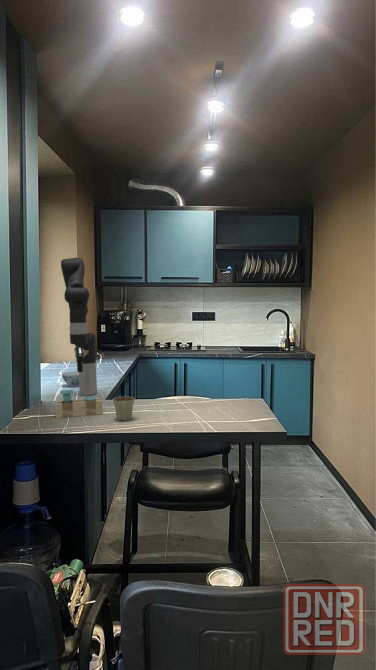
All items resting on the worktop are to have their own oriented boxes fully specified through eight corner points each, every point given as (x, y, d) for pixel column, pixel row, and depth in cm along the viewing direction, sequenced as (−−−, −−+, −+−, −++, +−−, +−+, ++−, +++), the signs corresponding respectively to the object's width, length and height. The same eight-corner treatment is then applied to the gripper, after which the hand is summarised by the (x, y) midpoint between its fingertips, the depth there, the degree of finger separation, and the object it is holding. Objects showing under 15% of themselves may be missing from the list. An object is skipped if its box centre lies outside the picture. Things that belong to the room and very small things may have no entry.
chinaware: (91, 383, 277) (90, 371, 276) (83, 388, 262) (82, 375, 261) (67, 383, 278) (67, 371, 278) (58, 388, 263) (57, 375, 263)
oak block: (56, 414, 202) (55, 401, 201) (101, 410, 207) (100, 397, 207) (56, 418, 195) (55, 404, 195) (102, 413, 201) (102, 400, 200)
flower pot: (140, 417, 193) (139, 398, 192) (125, 423, 185) (124, 402, 184) (123, 415, 198) (123, 395, 197) (108, 420, 190) (107, 399, 190)
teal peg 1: (61, 405, 201) (60, 390, 201) (73, 404, 203) (72, 389, 202) (61, 407, 196) (60, 392, 196) (73, 406, 198) (72, 391, 197)
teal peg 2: (84, 411, 204) (83, 397, 204) (96, 410, 206) (95, 396, 205) (85, 414, 199) (84, 399, 199) (96, 413, 201) (96, 398, 200)
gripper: (68, 332, 204) (70, 370, 205) (70, 334, 191) (72, 374, 192) (85, 331, 206) (87, 369, 207) (88, 333, 193) (90, 373, 195)
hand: (80, 371), depth 200 cm, fingers closed
